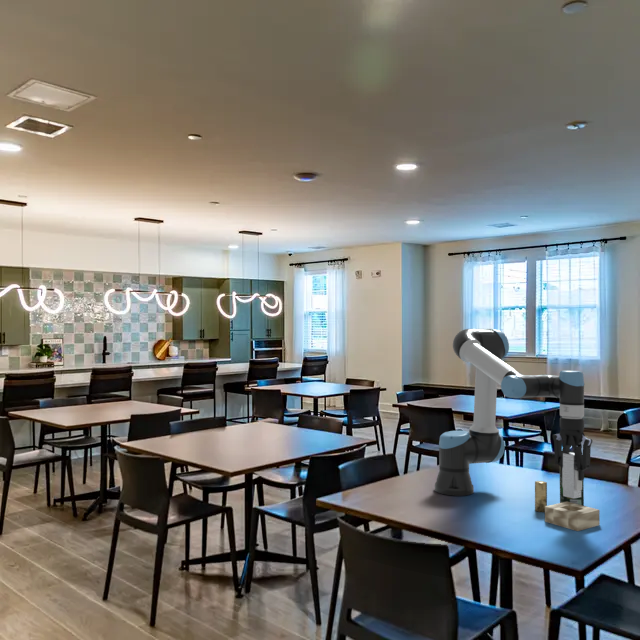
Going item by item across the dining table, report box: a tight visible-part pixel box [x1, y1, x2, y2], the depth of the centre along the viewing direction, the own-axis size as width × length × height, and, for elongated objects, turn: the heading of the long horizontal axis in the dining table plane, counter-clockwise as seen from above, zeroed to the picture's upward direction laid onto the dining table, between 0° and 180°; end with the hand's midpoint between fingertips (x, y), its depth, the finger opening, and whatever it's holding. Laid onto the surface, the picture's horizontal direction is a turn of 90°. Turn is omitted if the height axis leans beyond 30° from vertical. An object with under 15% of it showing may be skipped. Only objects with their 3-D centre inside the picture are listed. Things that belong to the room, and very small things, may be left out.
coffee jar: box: [559, 474, 585, 506], centre depth 221 cm, size 10×8×19 cm
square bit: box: [563, 451, 581, 499], centre depth 203 cm, size 4×4×14 cm
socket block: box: [544, 502, 601, 532], centre depth 203 cm, size 12×12×5 cm
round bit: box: [534, 480, 548, 513], centre depth 218 cm, size 4×4×10 cm
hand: (572, 488), depth 203 cm, fingers closed on square bit, 4 cm apart
